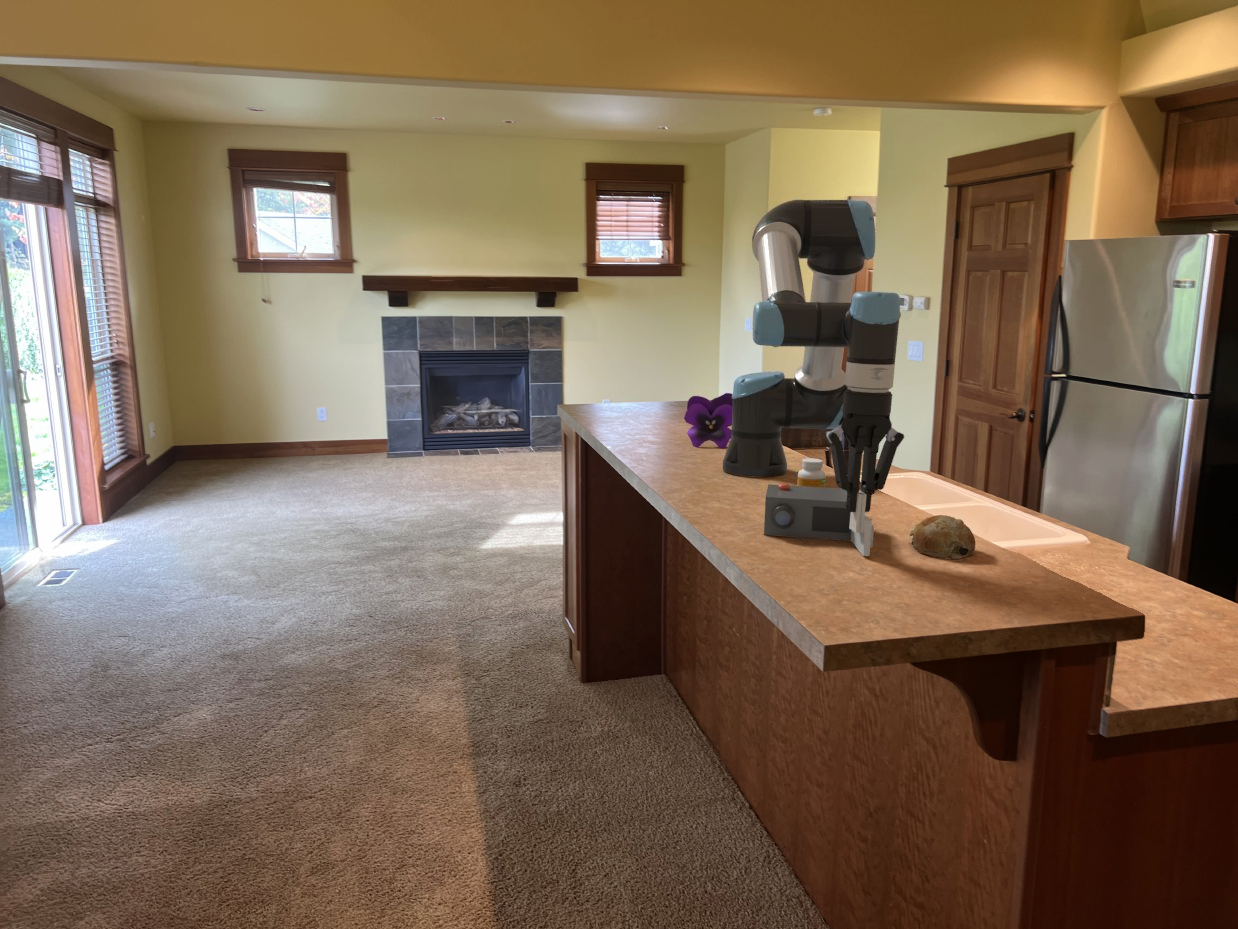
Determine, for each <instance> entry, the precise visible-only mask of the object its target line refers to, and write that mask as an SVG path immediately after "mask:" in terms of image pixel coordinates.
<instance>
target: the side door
mask: <svg viewBox="0 0 1238 929" xmlns="http://www.w3.org/2000/svg"><path fill="white" fill-rule="evenodd" d="M874 532H875V526H874V525H873V520H872V519H871V518H870V517H869V516H868V515H867V514H866V513H865V518H864V525H863V533H855V532H854V531H852V530H851V541H850V542H852V543H853V545H854V546H855V547H856V549H857V550H858V551H859V553H860V554H861V555H862V556H863V557H870V553H871V549H872V548H874Z"/></svg>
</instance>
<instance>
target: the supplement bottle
mask: <svg viewBox="0 0 1238 929" xmlns="http://www.w3.org/2000/svg"><path fill="white" fill-rule="evenodd" d="M801 460H802V461H801V466H802V469H800V470H799V471H798V473H797V485H796V486H805V487H822V488H826V478H827V477H826V473H825V471H823V470H822V469H823V464H824V463H823V462H824V461H823V460H822V459H818V458H812V457H811V458H810V457H809V458H803V459H801Z"/></svg>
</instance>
